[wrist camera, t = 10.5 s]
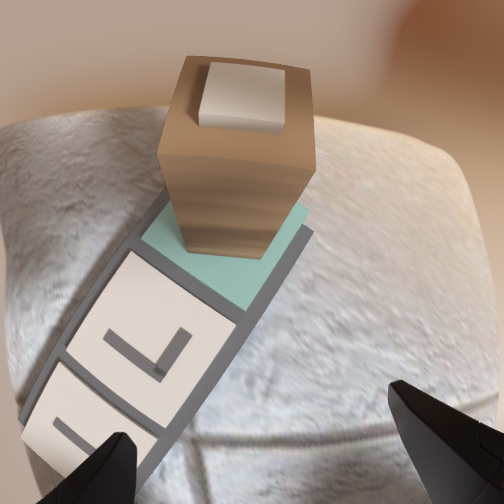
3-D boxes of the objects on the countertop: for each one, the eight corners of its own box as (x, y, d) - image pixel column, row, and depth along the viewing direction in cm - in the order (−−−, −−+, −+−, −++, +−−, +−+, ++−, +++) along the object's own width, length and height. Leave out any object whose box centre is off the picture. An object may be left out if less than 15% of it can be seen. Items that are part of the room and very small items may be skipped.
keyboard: (124, 506, 15) (118, 516, 13) (21, 424, 15) (10, 428, 13) (315, 226, 22) (323, 217, 20) (202, 155, 22) (202, 142, 21)
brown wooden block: (260, 259, 19) (322, 159, 8) (187, 252, 18) (153, 141, 7) (264, 193, 20) (314, 58, 9) (196, 187, 20) (186, 43, 8)
